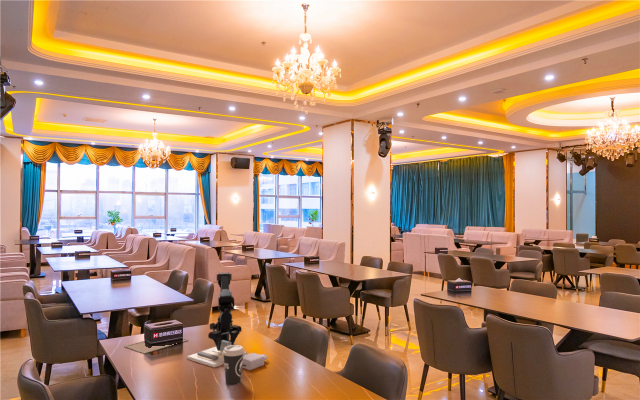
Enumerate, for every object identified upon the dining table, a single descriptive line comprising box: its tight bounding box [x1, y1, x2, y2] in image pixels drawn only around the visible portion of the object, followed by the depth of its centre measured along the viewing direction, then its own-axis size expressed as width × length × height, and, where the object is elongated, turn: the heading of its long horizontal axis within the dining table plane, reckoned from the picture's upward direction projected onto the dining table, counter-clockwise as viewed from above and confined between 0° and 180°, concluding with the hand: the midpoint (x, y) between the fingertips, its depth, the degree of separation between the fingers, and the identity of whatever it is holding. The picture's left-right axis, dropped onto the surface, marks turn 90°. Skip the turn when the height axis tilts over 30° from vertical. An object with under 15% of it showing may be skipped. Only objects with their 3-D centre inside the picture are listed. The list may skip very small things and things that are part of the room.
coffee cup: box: [222, 344, 245, 386], centre depth 190 cm, size 10×10×15 cm
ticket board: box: [187, 346, 248, 368], centre depth 222 cm, size 22×20×3 cm
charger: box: [242, 352, 269, 371], centre depth 212 cm, size 5×9×15 cm
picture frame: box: [123, 338, 189, 355], centre depth 242 cm, size 19×1×28 cm
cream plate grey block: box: [213, 340, 231, 353], centre depth 226 cm, size 8×10×5 cm
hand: (225, 348), depth 226 cm, fingers open, 9 cm apart
